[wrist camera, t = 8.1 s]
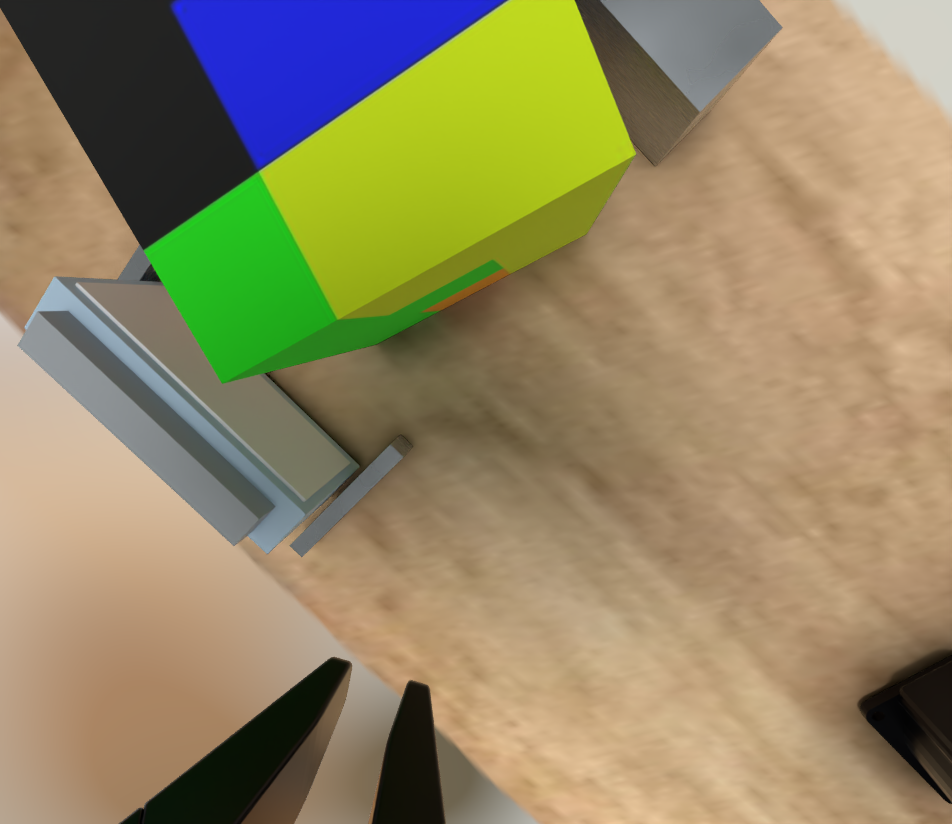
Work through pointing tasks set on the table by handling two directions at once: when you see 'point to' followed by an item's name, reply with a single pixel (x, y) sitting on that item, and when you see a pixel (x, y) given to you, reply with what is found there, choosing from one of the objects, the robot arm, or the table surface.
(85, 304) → the bar
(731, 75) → the grey rail base
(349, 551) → the table surface
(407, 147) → the puzzle toy
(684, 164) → the table surface
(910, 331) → the table surface
